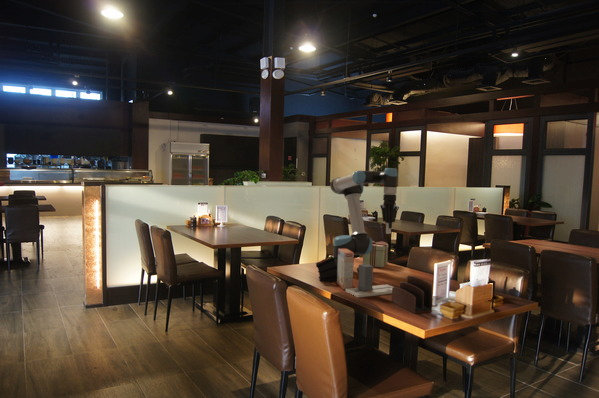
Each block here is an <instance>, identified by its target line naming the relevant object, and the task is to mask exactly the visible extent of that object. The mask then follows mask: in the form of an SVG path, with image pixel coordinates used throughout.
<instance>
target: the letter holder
mask: <svg viewBox="0 0 599 398" xmlns="http://www.w3.org/2000/svg"><path fill="white" fill-rule="evenodd" d="M392 287H393V288H392V293H391V302H392V303H393V304H395V305H397V306H399V307H401V308H403V309H405V310H407V311H409V312H411V313H413V314H415V315H417V314H423V313H432V311H433V285H432V284H431V283H430V282H428V281H427V280H424V279H422V278H420V277H417V276H414V275H413V276H412V275H407V277H406V282H405V281H400V282H399V287H397V286H392Z"/></svg>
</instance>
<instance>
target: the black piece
mask: <svg viewBox="0 0 599 398" xmlns="http://www.w3.org/2000/svg"><path fill="white" fill-rule="evenodd" d="M315 267H316V268H317V269H318V271H317V272H318V275H319V276H318V280H319V282H325V283H326V282H327V283H328V282H337V266H336V263H335V259H334V258H333V255H330V256H328V257H326V258H323V259H322V260H320V261H318V262H316V263H315Z"/></svg>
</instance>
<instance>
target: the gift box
mask: <svg viewBox="0 0 599 398" xmlns="http://www.w3.org/2000/svg"><path fill="white" fill-rule="evenodd" d="M372 242H373V247H372V250H371V252H370V253H369V254H364V255H362V264H368V265H371V266H373V268H375V267H376V268H383V267H385V266H387V265H388V254H389V253H388V252H389V251H388V249H389V244H388V243H387V242H386V241H377V242H376V241H374V240H372Z"/></svg>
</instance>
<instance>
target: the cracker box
mask: <svg viewBox="0 0 599 398" xmlns="http://www.w3.org/2000/svg"><path fill="white" fill-rule="evenodd" d="M354 263H355V255H354V253H353V252H352V251H350V250H348V249H338V268H337V281H336V284H337V285H338V286H339V287H340V288H341V290H345V291H346V289H349V288H354V287H353V285H354V284H353V283H354V266H355V265H354Z"/></svg>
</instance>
